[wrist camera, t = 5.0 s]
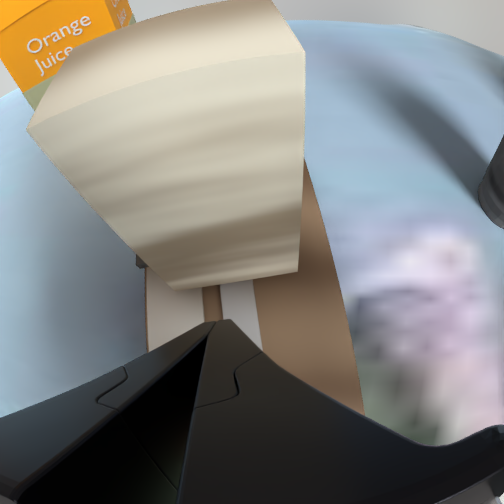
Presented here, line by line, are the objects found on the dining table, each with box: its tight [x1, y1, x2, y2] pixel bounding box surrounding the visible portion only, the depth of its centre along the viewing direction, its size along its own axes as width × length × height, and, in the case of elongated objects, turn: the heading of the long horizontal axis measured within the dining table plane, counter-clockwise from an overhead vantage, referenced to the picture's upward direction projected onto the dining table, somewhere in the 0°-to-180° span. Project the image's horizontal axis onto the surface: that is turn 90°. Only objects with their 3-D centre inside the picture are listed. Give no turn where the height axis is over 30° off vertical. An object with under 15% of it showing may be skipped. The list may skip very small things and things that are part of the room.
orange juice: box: [0, 0, 136, 111], centre depth 16 cm, size 8×9×20 cm
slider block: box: [26, 0, 305, 291], centre depth 11 cm, size 4×8×11 cm, turn 98°
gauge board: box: [145, 159, 365, 416], centre depth 16 cm, size 19×10×2 cm, turn 8°
